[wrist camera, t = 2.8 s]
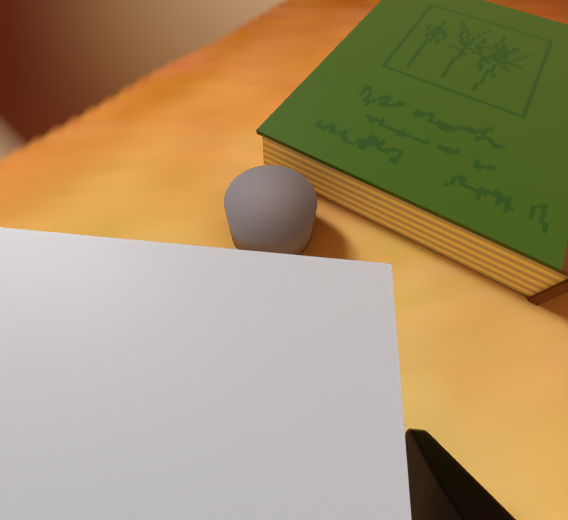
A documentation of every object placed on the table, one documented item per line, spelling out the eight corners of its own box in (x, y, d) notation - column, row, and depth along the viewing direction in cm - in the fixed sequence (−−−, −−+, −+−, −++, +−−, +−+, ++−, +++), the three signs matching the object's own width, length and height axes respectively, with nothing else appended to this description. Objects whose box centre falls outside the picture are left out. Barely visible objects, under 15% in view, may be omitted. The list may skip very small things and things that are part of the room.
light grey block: (293, 509, 13) (490, 1524, 1) (175, 496, 13) (-818, 1297, 1) (301, 381, 15) (391, 263, 3) (200, 371, 15) (-51, 222, 3)
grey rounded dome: (316, 263, 18) (323, 236, 15) (231, 268, 18) (223, 242, 15) (306, 196, 20) (311, 163, 18) (231, 200, 20) (224, 167, 17)
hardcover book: (529, 307, 18) (589, 282, 14) (259, 173, 22) (256, 130, 18) (584, 83, 28) (627, 37, 24) (392, 20, 32) (406, -26, 28)
